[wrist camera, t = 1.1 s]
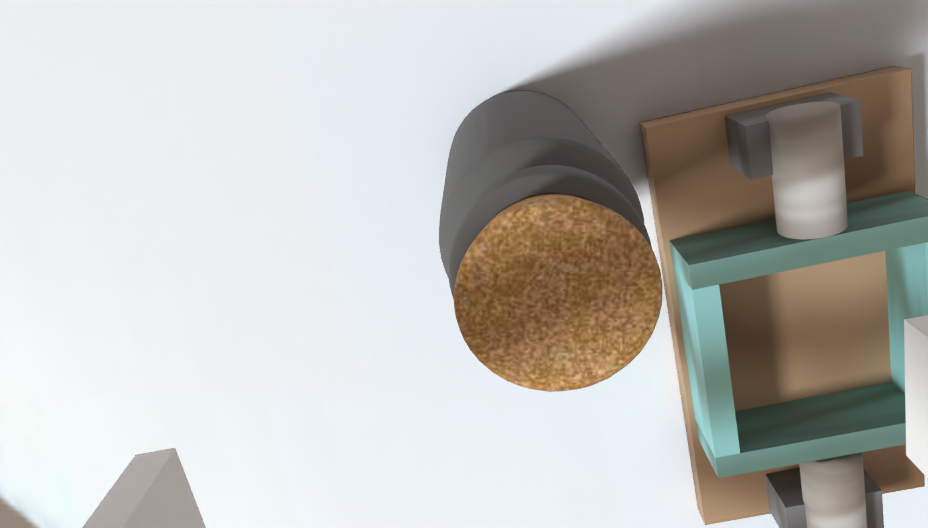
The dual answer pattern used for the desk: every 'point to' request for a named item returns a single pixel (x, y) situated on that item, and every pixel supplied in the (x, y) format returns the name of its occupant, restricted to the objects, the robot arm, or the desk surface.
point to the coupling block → (793, 295)
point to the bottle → (545, 246)
